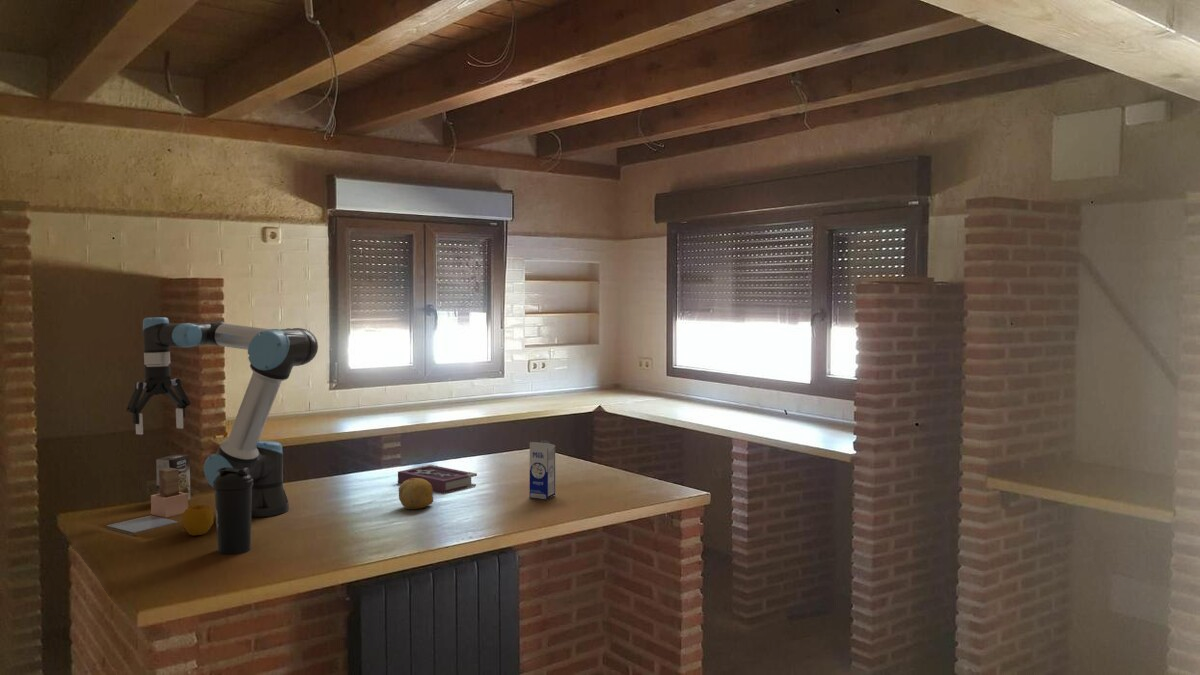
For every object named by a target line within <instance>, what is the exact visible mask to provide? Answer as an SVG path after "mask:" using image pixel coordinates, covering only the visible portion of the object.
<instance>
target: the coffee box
mask: <svg viewBox="0 0 1200 675" xmlns="http://www.w3.org/2000/svg"><path fill="white" fill-rule="evenodd" d="M190 456H191V455H189V454H172V455H168V456H167V455H166V456H163V457H160V458H159V457H158V458H157V459H155V460H156V479H155V480H156V494H160V489H159V470H162V469H167V468H175V469H179V492H182V493H187V494H188V500H191V469H190V468H191V462H190V458H191V457H190Z"/></svg>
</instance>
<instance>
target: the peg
mask: <svg viewBox="0 0 1200 675" xmlns="http://www.w3.org/2000/svg"><path fill="white" fill-rule="evenodd" d="M159 489H160V496H161V497H165V498H167V497H172V496H176V495H179V469H175V468H167V469H162V470H159Z"/></svg>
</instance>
